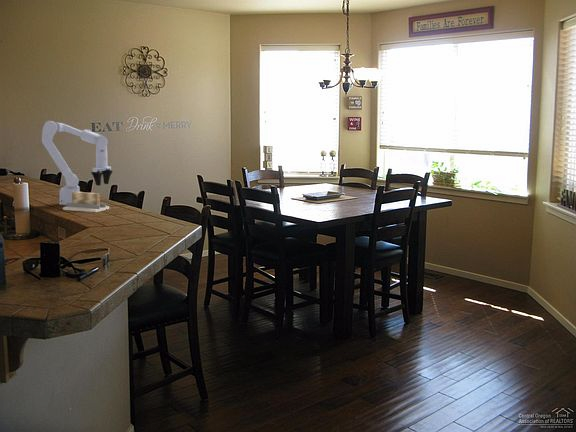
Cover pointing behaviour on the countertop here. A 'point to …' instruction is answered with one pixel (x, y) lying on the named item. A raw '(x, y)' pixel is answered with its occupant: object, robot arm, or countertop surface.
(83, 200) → the door panel
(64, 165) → the robot arm
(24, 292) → the countertop surface
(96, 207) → the track plinth
